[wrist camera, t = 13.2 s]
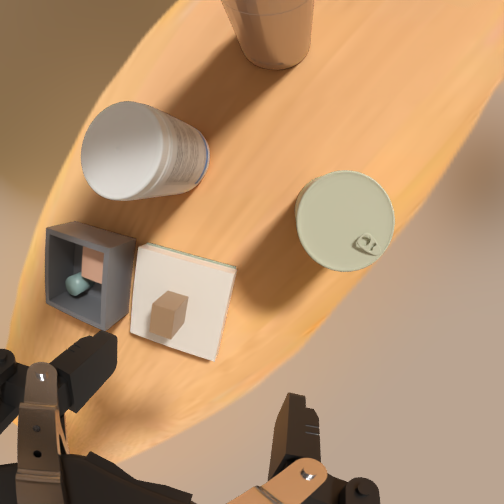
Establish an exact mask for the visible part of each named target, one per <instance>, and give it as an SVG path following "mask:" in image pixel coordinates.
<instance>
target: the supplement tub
mask: <svg viewBox="0 0 504 504" xmlns="http://www.w3.org/2000/svg"><path fill="white" fill-rule="evenodd" d="M209 161H210V151H209V146H208V143H207V141H206V139H205V137H204V136H203V135H202V134H201V132H200V131H198V130H197V129H196V128H194V127H192V126H191V125H189V124H187V123H185V122H183V121H181V120H179V119H177V118H175V117H173V116H171V115H169V114H167V113H165V112H162V111H160V110H158V109H156V108H154V107H151V106H149V105H146V104H141V103H137V102H131V101H124V102H119V103H116V104H113V105H111V106H109V107H107V108H106V109H104V110H103V111H102V112H101V113H99V114H98V115H97V116H96V118H95V119H94V120H93V121H92V123H91V124H90V126H89V128H88V130H87V132H86V134H85V137H84V140H83V144H82V149H81V165H82V170H83V173H84V176H85V178H86V180H87V182H88V184H89V186H90V187H91V188H92V189H93V190H94V191H95V192H96V193H97V194H99V195H100V196H102V197H104V198H106V199H110V200H120V201H129V200H138V199H145V198H152V197H160V196H168V195H176V194H182V193H185V192H187V191H190V190H191V189H193V188H194V187H195V186H197V185H198V184H199V183H200V181H201V180H202V179H203V177H204V175H205V174H206V172H207V169H208V166H209Z"/></svg>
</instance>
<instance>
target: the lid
mask: <svg viewBox="0 0 504 504" xmlns="http://www.w3.org/2000/svg"><path fill="white" fill-rule="evenodd" d="M236 273H237V269H234V268H230V267H226V266H223V265H219V264H215V263H212V262H208V261H204V260H201V259H197V258H194V257H190V256H186V255H183V254H179V253H176V252H172V251H169V250H165V249H162V248H158V247H155V246H151V245H148V244H144V245H142V246H140V247H138V254H137V262H136V271H135V280H134V290H133V301H132V313H131V328H130V332H131V333H133V334H136V335H138V336H141V337H144V338H146V339H149V340H152V341H154V342H157V343H160V344H163V345H166V346H168V347H171V348H174V349H177V350H180V351H183V352H186V353H189V354H192V355H195V356H198V357H201V358H205V359H208V360H211V361H214V362H215V359H216V357H217V355H218V352H219V348H220V343H221V339H222V334H223V330H224V326H225V321H226V317H227V312H228V308H229V304H230V299H231V295H232V291H233V286H234V282H235V278H236Z"/></svg>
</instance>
